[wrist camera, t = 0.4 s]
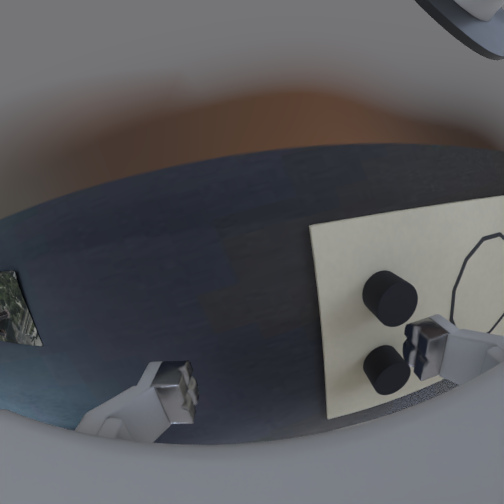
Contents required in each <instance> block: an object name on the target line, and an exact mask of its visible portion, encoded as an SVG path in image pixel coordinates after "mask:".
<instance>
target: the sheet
mask: <svg viewBox="0 0 504 504" xmlns="http://www.w3.org/2000/svg"><path fill="white" fill-rule="evenodd" d="M309 231H310V238H311V245H312V252H313V260H314V267H315V275H316V284H317V293H318V302H319V311H320V322H321V333H322V345H323V358H324V372H325V389H326V412H327V419H331V418H335V417H339V416H343V415H347V414H350V413H354V412H357V411H361V410H364V409H367V408H371V407H374V406H377V405H380V404H383V403H386V402H389V401H391V400H394V399H397V398H400V397H402V396H405V395H408V394H410V393H413V392H415V391H418V390H420V389H422V388H425V387H427V386H429V385H432V384H434V383H436V382H438V381H441V380H443V379H445V378H443V377H440V376H439V375H437V376H435V377H432V378H429V379H427V380H424V381H420V379H419V378H418V377H417V376H416V374H415V373H414V372H413V371H414V367H411V366H410V369H411V374H410V377H409V379H408V381H407V383H406V384H405V385H404V386H403V387H402V388H401V389H400V390H398V391H397V392H395V393H393V394H390V395H380V394H378V393H377V392H376V391H375V389H374V387H373V386H372V384H371V382H370V381H369V379H368V377H367V376H366V374H365V372H364V370H363V363H364V360H365V358H366V357H367V355H368V354H369V353H370V352H371V351H372V350H374V349H375V348H377V347H379V346H382V345H390V346H392V347H394V348H395V349H396V351H397V352H398V353H399V354H400V355H401V356H402V358H403V352H402V349H403V343H404V342H405V340H406V339H407V338H406V336H405V335H404V331H405V327H406V324H409V323H412V322H415V321H419V320H422V319H425V318H427V317H430V316H433V315H435V314H440V315H441V316H442V317H444V318H445V319H447V320H448V321H449V322H451V323H452V324H453V325H455V326H456V327H457V328H459V329H460V330H461V329H468V330H473V331H478V332H484V333H489V334H495V335H500V336H504V195H502V196H494V197H487V198H480V199H472V200H465V201H458V202H452V203H445V204H438V205H431V206H425V207H418V208H411V209H405V210H399V211H392V212H386V213H380V214H373V215H367V216H361V217H355V218H349V219H343V220H337V221H331V222H325V223H319V224H313V225H309ZM383 270H387V271H391V272H393V273H394V274H396V275H397V276H399V277H401V278H402V279H404V280H405V281H407V282H409V283H410V284H412V285H413V286H414V287H415V289H416V291H417V295H418V303H417V307H416V309H415V312H414V313H413V315H412V316H411V317H410V319H409V320H408V321H406V322H405V323H404V324H402V325H400V326H397V327H388V326H385V325H384V324H382V323H381V322H380V321H379V320H378V319H377V317H376V316H375V315H374V314H373V313H372V312H371V311H370V310H369V309H368V308H367V307H366V306H365V304H364V302H363V298H362V292H363V288H364V285H365V283H366V281H367V280H368V279H369V278H370V277H371V276H372V275H373V274H375V273H376V272H379V271H383ZM403 359H404V358H403Z"/></svg>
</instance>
